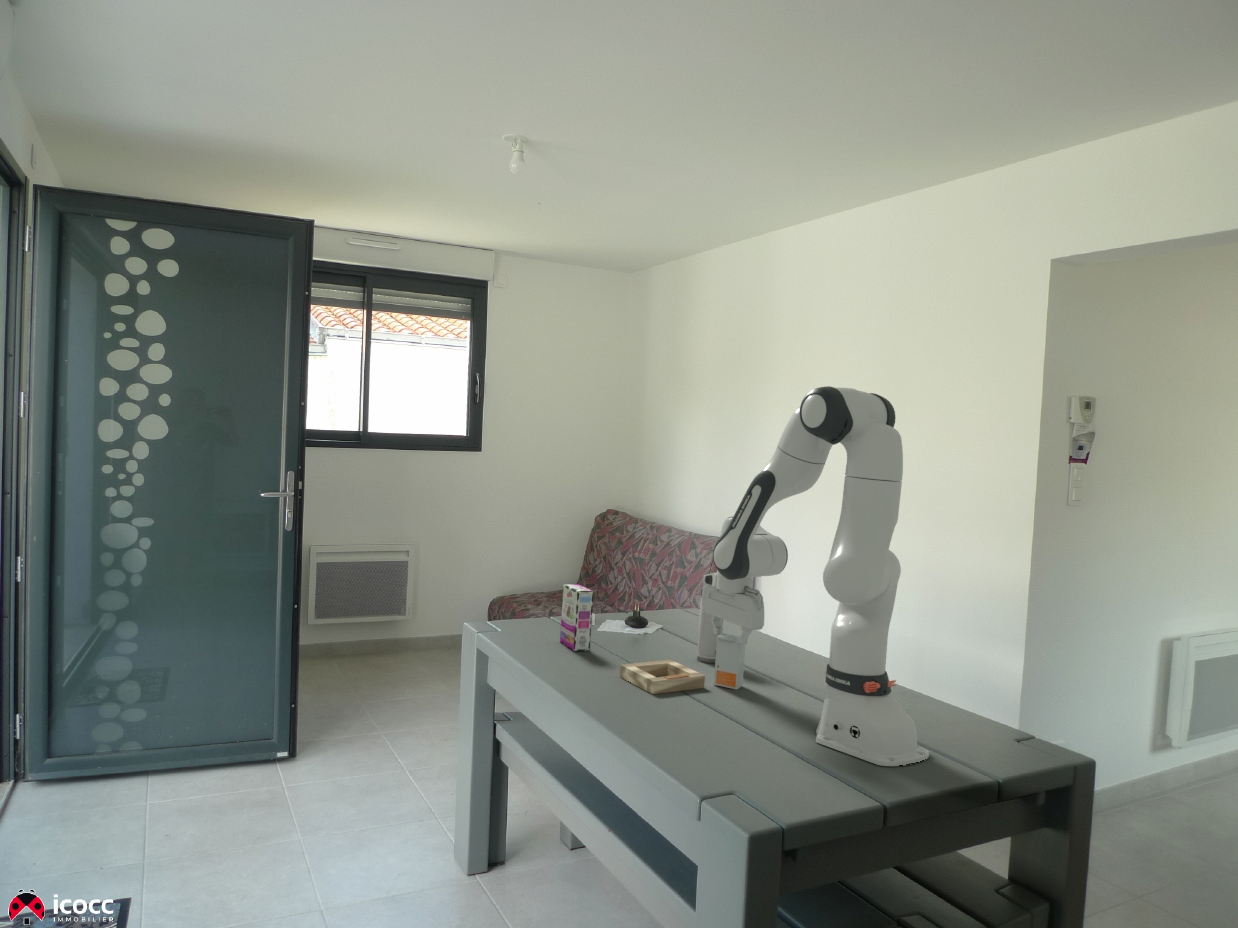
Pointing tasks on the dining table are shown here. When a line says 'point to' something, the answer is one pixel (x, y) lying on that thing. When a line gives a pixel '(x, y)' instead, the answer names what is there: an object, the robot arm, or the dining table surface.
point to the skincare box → (729, 662)
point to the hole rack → (675, 680)
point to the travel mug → (706, 638)
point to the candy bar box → (576, 617)
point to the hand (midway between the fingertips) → (729, 639)
